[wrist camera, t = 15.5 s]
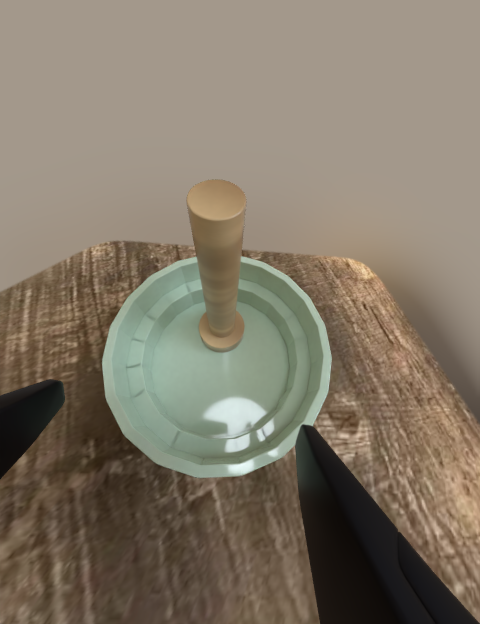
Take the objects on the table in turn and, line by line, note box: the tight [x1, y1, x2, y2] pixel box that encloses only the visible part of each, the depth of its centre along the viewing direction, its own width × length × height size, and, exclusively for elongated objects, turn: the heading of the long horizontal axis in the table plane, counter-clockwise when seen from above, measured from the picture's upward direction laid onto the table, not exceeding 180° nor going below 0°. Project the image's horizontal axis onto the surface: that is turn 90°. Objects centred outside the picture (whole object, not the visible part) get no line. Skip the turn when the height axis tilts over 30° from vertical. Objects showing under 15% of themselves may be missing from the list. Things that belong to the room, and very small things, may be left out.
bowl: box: [102, 256, 332, 478], centre depth 18 cm, size 15×15×6 cm
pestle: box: [187, 180, 246, 353], centre depth 14 cm, size 4×4×14 cm
